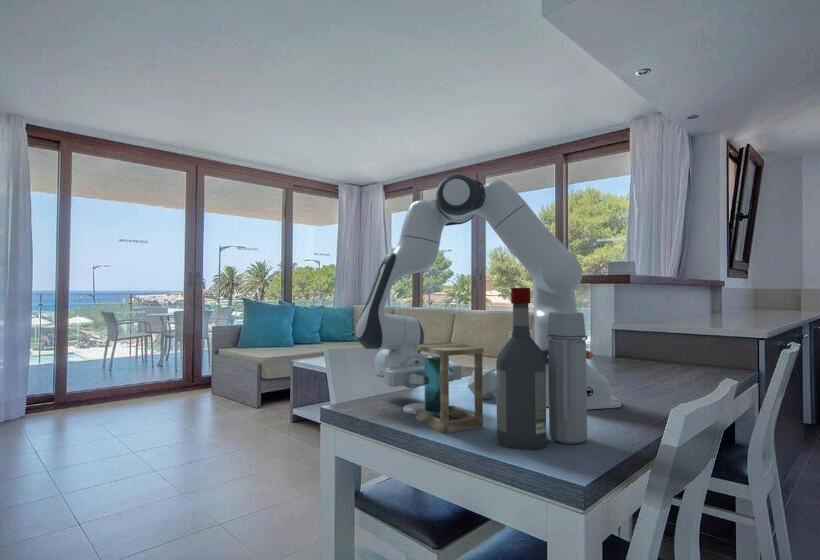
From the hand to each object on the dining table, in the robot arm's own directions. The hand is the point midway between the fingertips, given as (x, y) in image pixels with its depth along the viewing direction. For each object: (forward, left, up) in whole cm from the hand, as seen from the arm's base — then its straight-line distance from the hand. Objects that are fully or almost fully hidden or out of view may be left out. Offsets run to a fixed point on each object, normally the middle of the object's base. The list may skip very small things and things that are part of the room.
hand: (438, 379), depth 108 cm
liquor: (-15, +17, -9) cm, 24 cm away
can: (0, -1, -7) cm, 7 cm away
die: (-15, -20, -9) cm, 26 cm away
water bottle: (-24, +17, -9) cm, 31 cm away
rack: (-2, +3, -9) cm, 10 cm away
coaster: (+4, -8, -9) cm, 12 cm away
